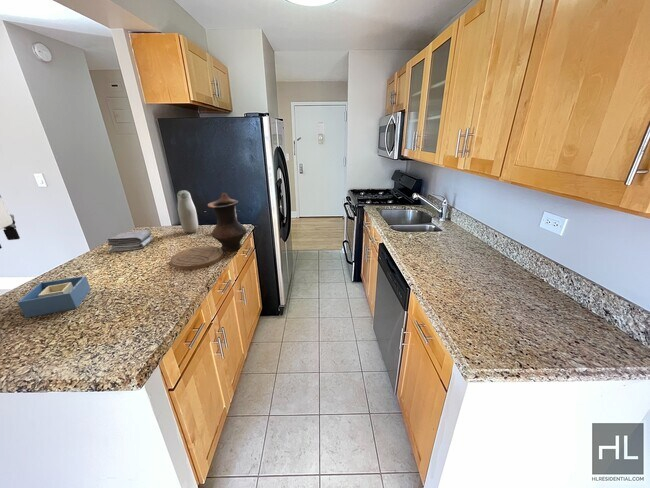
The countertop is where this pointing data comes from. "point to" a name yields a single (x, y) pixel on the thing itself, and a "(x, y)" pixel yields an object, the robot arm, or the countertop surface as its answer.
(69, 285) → the cream bin
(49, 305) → the blue bin
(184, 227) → the white rounded column
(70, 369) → the countertop surface
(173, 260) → the trivet
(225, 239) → the jug
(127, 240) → the towel
